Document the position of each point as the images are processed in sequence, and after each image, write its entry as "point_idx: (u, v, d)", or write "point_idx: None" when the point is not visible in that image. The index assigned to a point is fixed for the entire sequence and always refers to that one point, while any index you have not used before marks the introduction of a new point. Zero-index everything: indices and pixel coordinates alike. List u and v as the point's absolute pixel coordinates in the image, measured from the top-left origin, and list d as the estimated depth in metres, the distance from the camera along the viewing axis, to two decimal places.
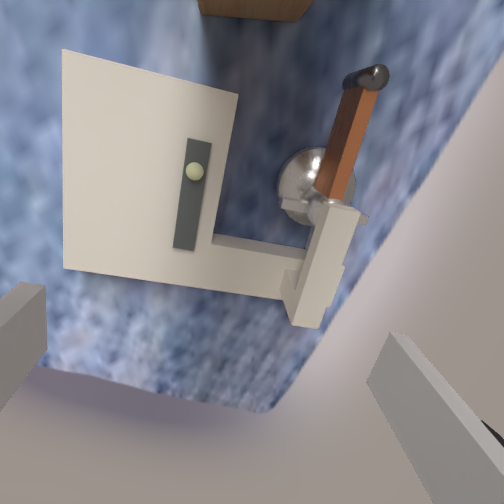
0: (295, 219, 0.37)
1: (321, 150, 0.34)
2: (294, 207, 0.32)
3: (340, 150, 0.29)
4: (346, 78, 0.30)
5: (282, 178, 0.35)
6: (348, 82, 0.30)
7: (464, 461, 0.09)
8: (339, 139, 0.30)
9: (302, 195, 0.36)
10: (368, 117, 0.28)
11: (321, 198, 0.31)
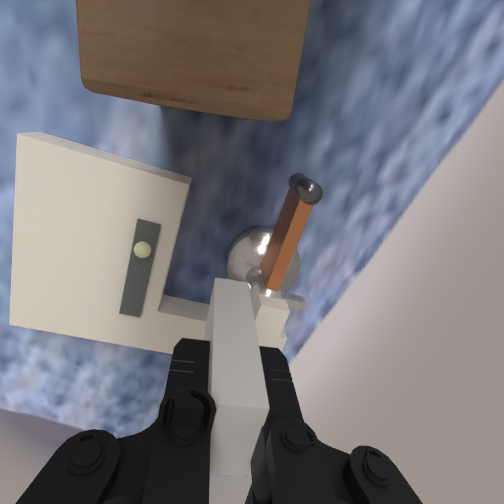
0: None
1: (268, 234, 0.36)
2: None
3: (278, 248, 0.31)
4: (291, 178, 0.32)
5: (230, 256, 0.37)
6: (292, 184, 0.32)
7: None
8: (280, 235, 0.32)
9: (248, 273, 0.37)
10: (303, 224, 0.30)
11: (260, 286, 0.33)
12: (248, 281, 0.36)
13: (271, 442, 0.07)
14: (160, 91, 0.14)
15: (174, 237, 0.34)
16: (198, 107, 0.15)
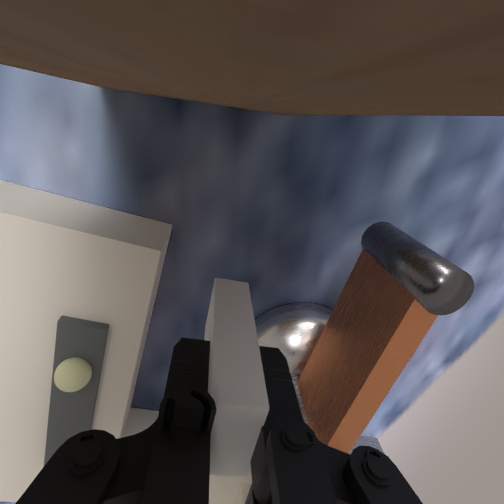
0: None
1: (314, 326, 0.20)
2: None
3: (349, 384, 0.15)
4: (371, 235, 0.16)
5: None
6: (375, 249, 0.15)
7: None
8: (348, 352, 0.16)
9: None
10: (413, 348, 0.13)
11: None
12: None
13: (271, 442, 0.07)
14: None
15: (137, 345, 0.17)
16: None
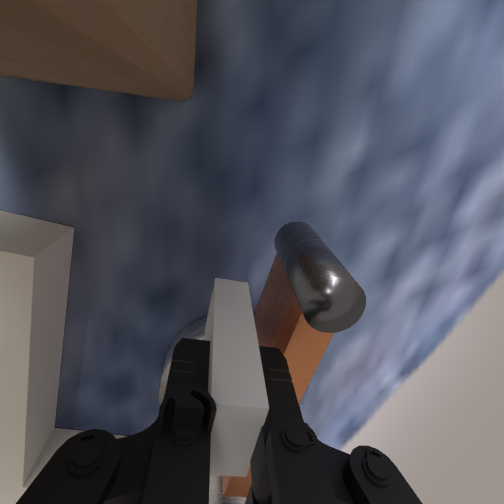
0: None
1: None
2: None
3: None
4: (280, 237, 0.14)
5: (162, 380, 0.18)
6: (280, 253, 0.13)
7: None
8: None
9: None
10: (310, 370, 0.11)
11: (213, 479, 0.15)
12: None
13: (271, 442, 0.07)
14: None
15: (25, 364, 0.15)
16: None
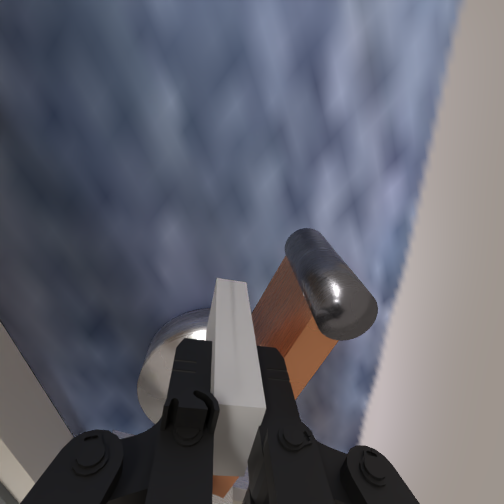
0: None
1: None
2: None
3: None
4: (293, 240, 0.14)
5: (145, 366, 0.18)
6: (292, 257, 0.13)
7: None
8: None
9: None
10: (308, 375, 0.11)
11: None
12: None
13: (268, 442, 0.07)
14: None
15: None
16: None
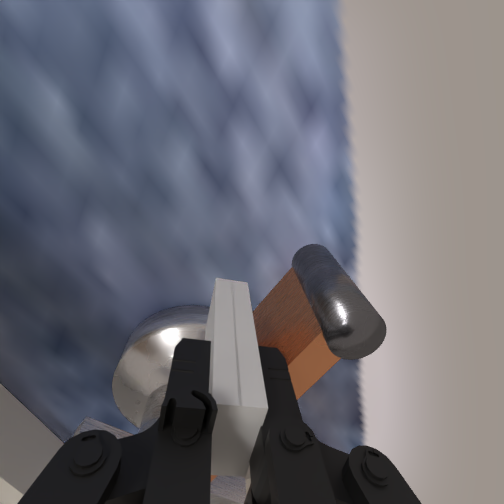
0: (132, 420, 0.19)
1: None
2: None
3: None
4: (303, 254, 0.14)
5: (127, 355, 0.17)
6: (302, 270, 0.14)
7: None
8: None
9: (154, 395, 0.18)
10: (304, 388, 0.12)
11: None
12: (144, 422, 0.17)
13: (270, 442, 0.07)
14: None
15: None
16: None
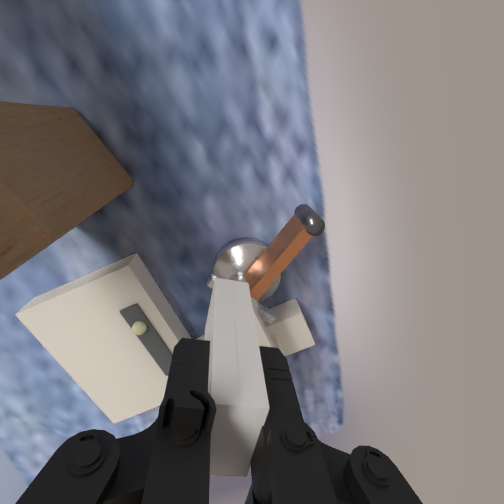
0: None
1: (261, 248, 0.39)
2: None
3: (270, 263, 0.35)
4: (299, 207, 0.36)
5: (221, 256, 0.39)
6: (298, 212, 0.36)
7: None
8: (274, 252, 0.36)
9: (232, 276, 0.40)
10: (299, 249, 0.34)
11: None
12: None
13: (271, 442, 0.07)
14: None
15: (152, 304, 0.40)
16: (4, 275, 0.20)
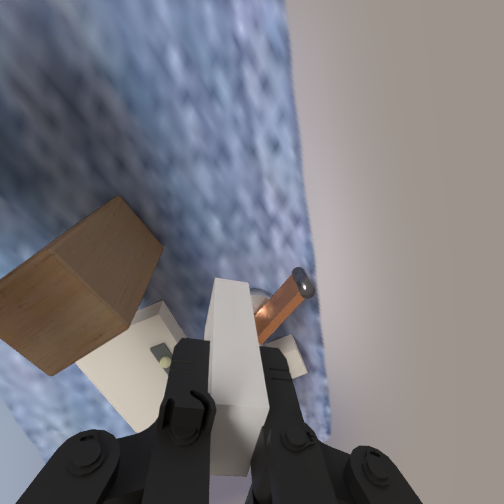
0: None
1: (264, 299, 0.49)
2: None
3: (272, 316, 0.44)
4: (295, 270, 0.46)
5: None
6: (294, 275, 0.45)
7: None
8: (275, 306, 0.45)
9: None
10: (295, 307, 0.43)
11: None
12: None
13: (271, 442, 0.07)
14: (75, 359, 0.29)
15: (176, 343, 0.49)
16: (93, 350, 0.30)
